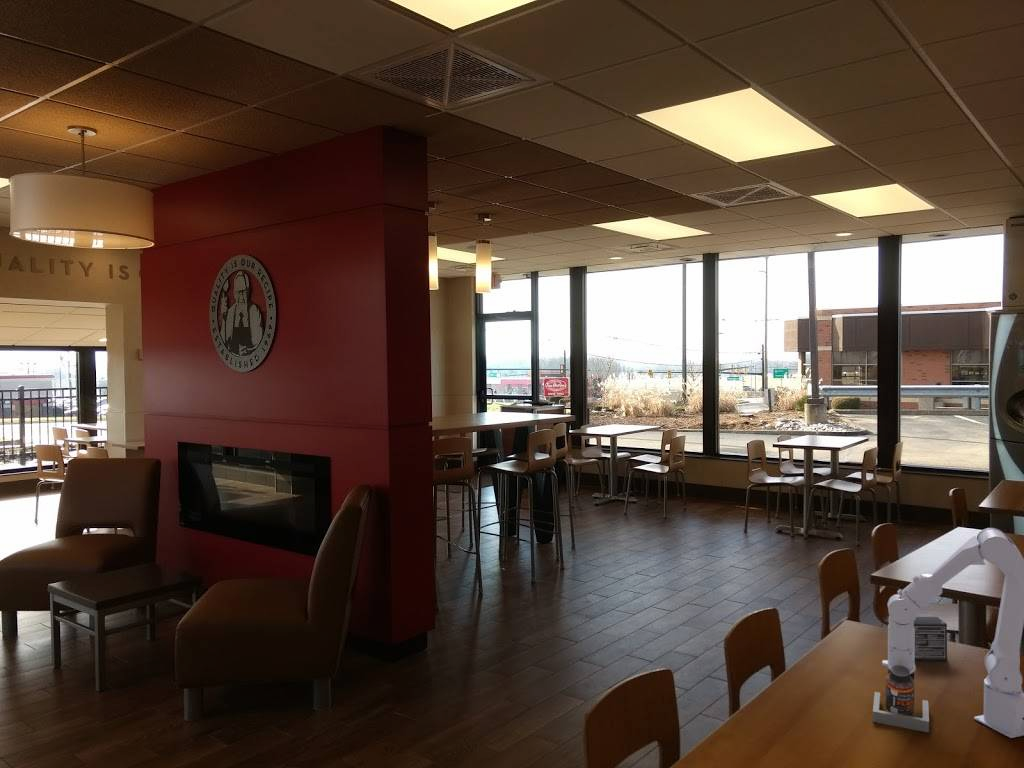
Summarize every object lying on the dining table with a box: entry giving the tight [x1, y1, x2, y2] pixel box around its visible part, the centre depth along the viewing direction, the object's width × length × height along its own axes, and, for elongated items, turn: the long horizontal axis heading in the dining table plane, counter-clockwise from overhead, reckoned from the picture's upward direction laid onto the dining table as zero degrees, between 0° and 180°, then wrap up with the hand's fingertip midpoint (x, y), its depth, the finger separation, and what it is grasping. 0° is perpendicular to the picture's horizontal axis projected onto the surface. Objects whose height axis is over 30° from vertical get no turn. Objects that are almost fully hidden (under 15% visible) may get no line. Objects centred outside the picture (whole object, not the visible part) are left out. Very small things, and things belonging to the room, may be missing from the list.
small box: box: [914, 616, 948, 662], centre depth 212 cm, size 11×6×10 cm, turn 84°
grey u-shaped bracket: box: [872, 691, 930, 733], centre depth 178 cm, size 11×11×2 cm
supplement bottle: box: [885, 665, 915, 716], centre depth 178 cm, size 6×6×11 cm
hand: (900, 702), depth 183 cm, fingers closed
